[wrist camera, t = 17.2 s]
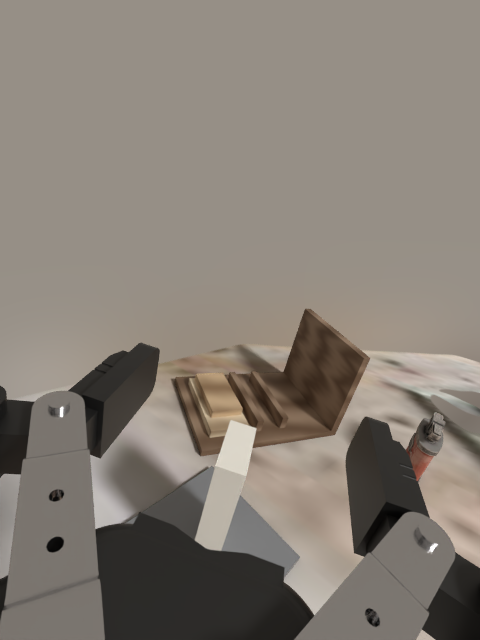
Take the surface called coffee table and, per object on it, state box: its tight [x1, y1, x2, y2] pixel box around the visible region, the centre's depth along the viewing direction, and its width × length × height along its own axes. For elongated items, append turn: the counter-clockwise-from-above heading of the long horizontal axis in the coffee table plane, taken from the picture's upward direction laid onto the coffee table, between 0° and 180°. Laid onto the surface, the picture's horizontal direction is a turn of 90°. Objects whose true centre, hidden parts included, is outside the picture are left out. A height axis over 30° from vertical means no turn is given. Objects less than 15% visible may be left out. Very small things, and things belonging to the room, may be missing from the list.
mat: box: [125, 466, 300, 578], centre depth 34 cm, size 14×14×1 cm
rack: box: [175, 309, 370, 456], centre depth 53 cm, size 16×23×15 cm
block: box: [195, 420, 257, 551], centre depth 31 cm, size 6×2×14 cm, turn 169°
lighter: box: [406, 412, 445, 483], centre depth 49 cm, size 8×3×10 cm, turn 147°
